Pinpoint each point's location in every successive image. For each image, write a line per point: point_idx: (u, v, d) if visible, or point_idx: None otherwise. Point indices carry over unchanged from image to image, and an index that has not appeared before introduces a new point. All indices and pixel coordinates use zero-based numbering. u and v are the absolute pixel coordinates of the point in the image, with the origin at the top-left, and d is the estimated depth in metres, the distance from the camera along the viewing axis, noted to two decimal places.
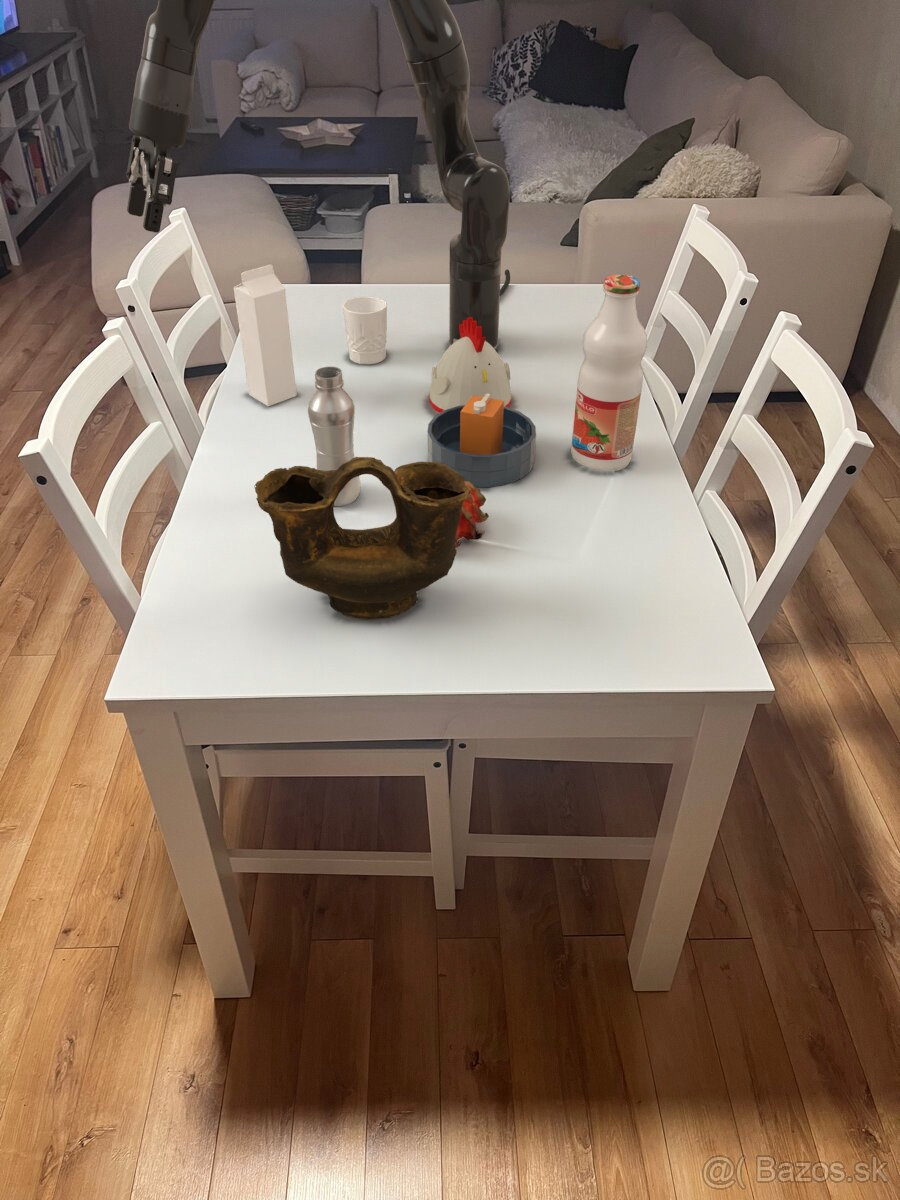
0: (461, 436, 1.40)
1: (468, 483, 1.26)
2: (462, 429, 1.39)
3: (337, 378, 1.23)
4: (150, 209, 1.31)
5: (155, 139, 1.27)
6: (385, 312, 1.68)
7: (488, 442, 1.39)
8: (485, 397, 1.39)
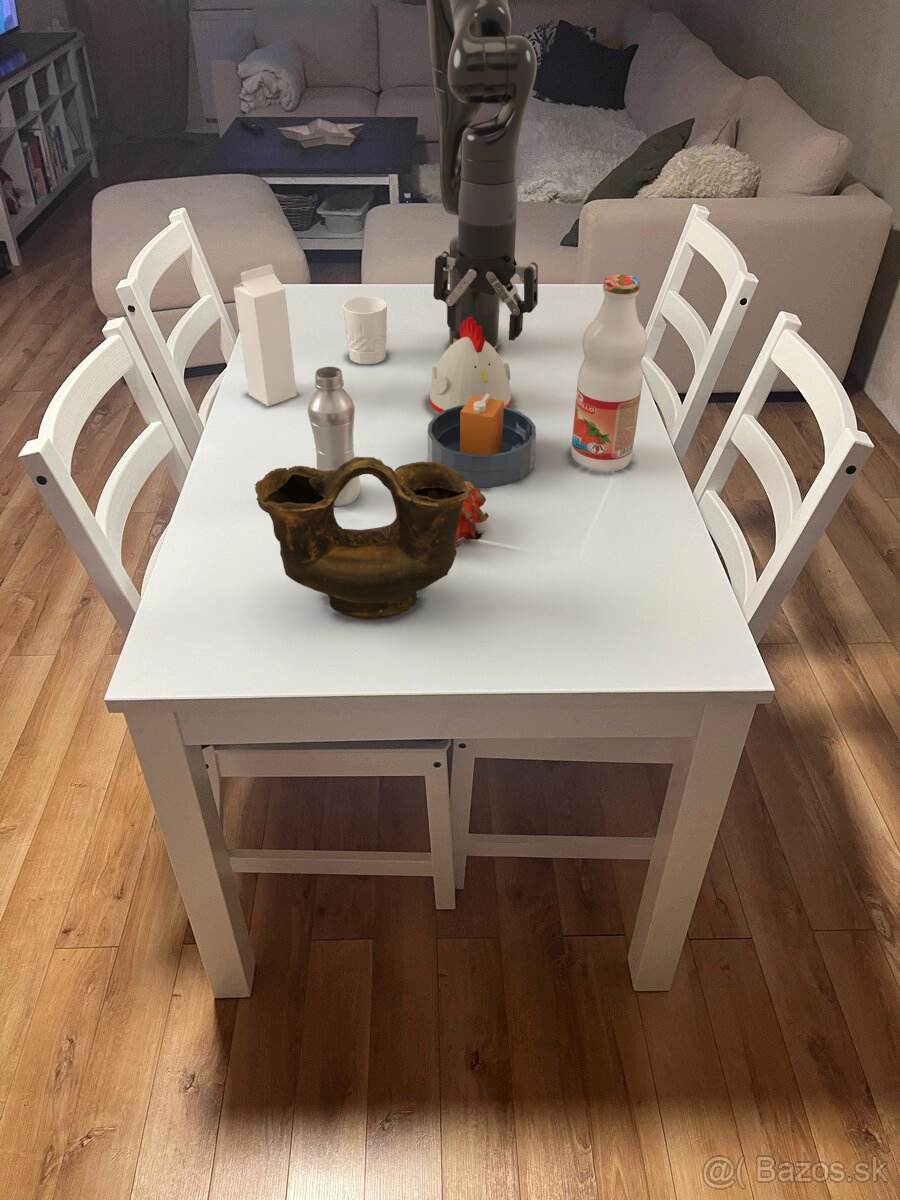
0: (461, 436, 1.40)
1: (468, 483, 1.26)
2: (462, 429, 1.39)
3: (337, 378, 1.23)
4: (517, 320, 1.28)
5: (509, 255, 1.22)
6: (385, 312, 1.68)
7: (488, 442, 1.39)
8: (485, 397, 1.39)
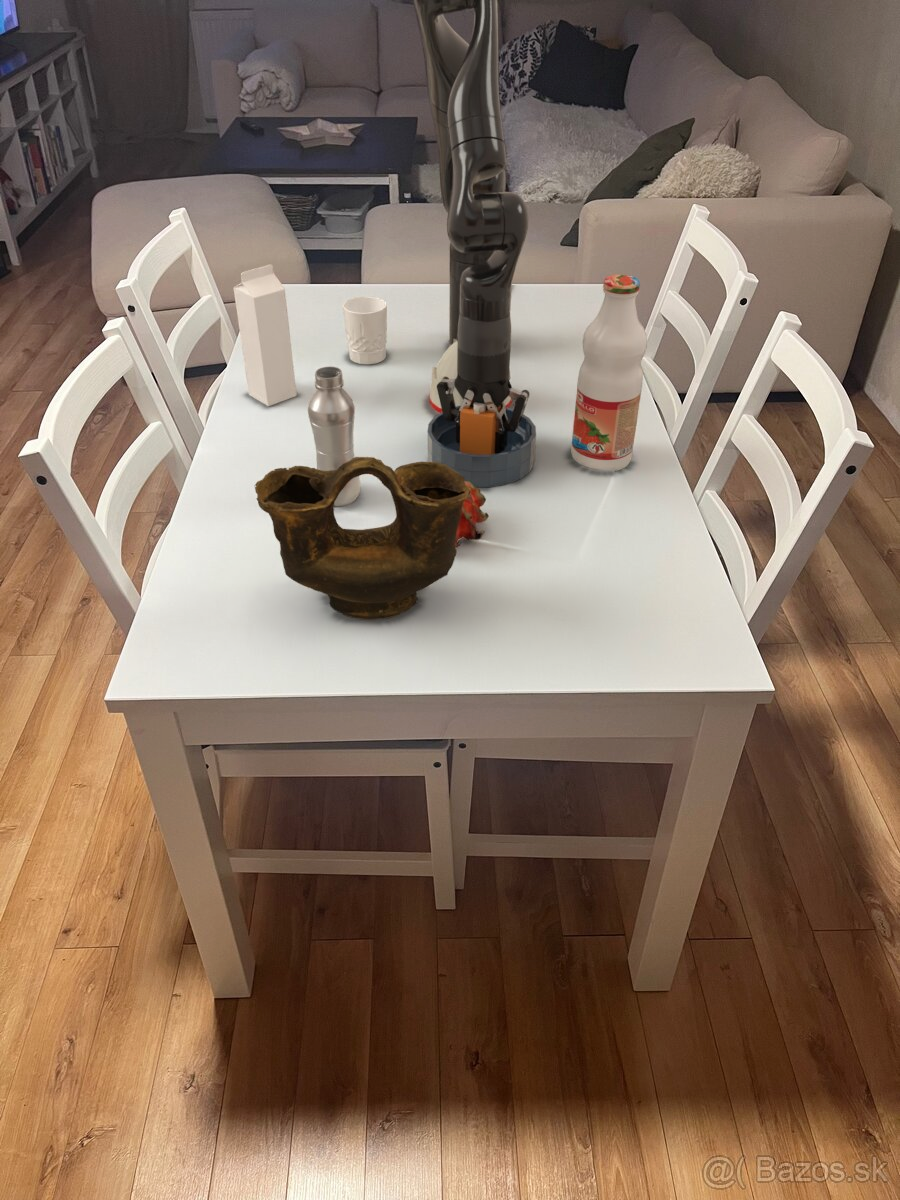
0: (461, 436, 1.40)
1: (468, 483, 1.26)
2: (462, 429, 1.39)
3: (337, 378, 1.23)
4: (501, 437, 1.40)
5: (504, 379, 1.33)
6: (385, 312, 1.68)
7: (488, 442, 1.39)
8: None
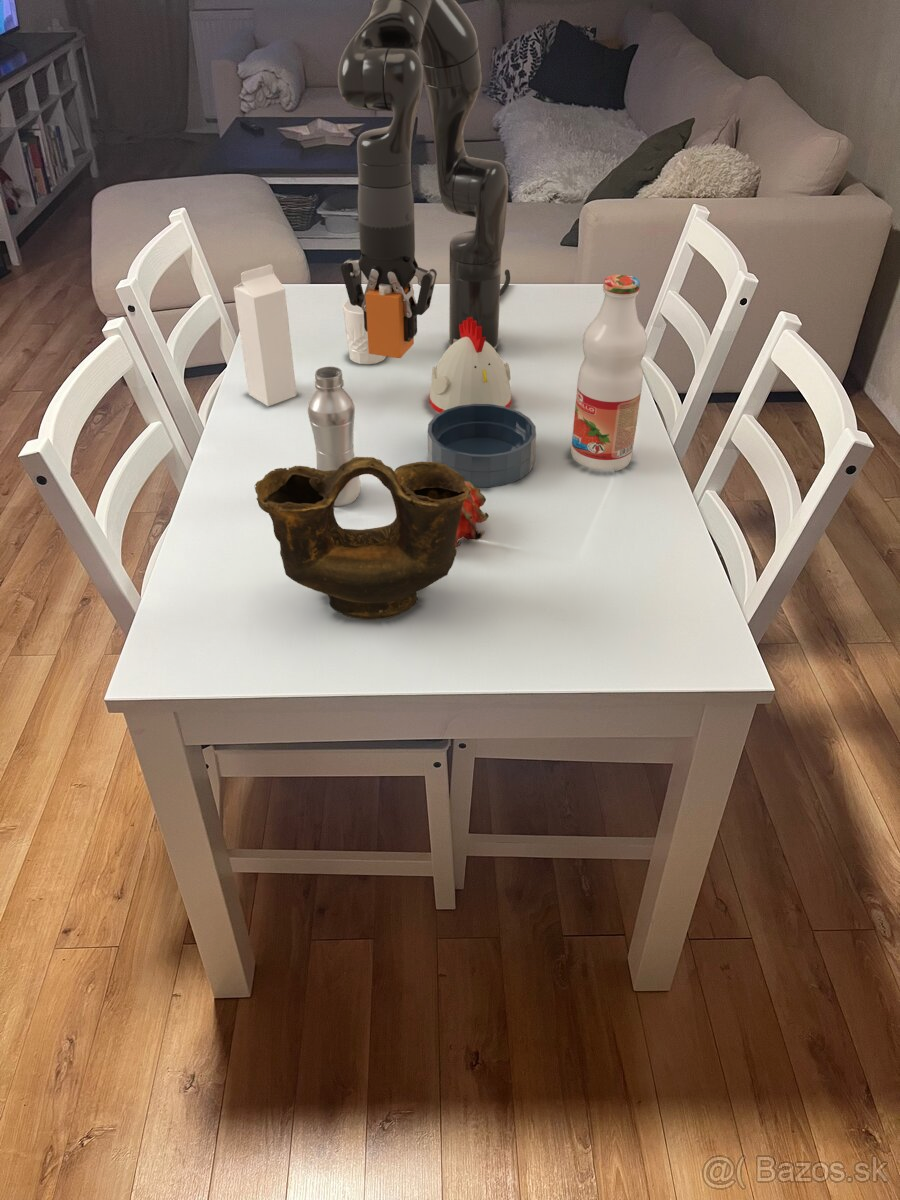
0: (368, 321, 1.33)
1: (468, 483, 1.26)
2: (368, 313, 1.33)
3: (337, 378, 1.23)
4: (410, 322, 1.34)
5: (408, 255, 1.27)
6: None
7: (395, 326, 1.32)
8: None
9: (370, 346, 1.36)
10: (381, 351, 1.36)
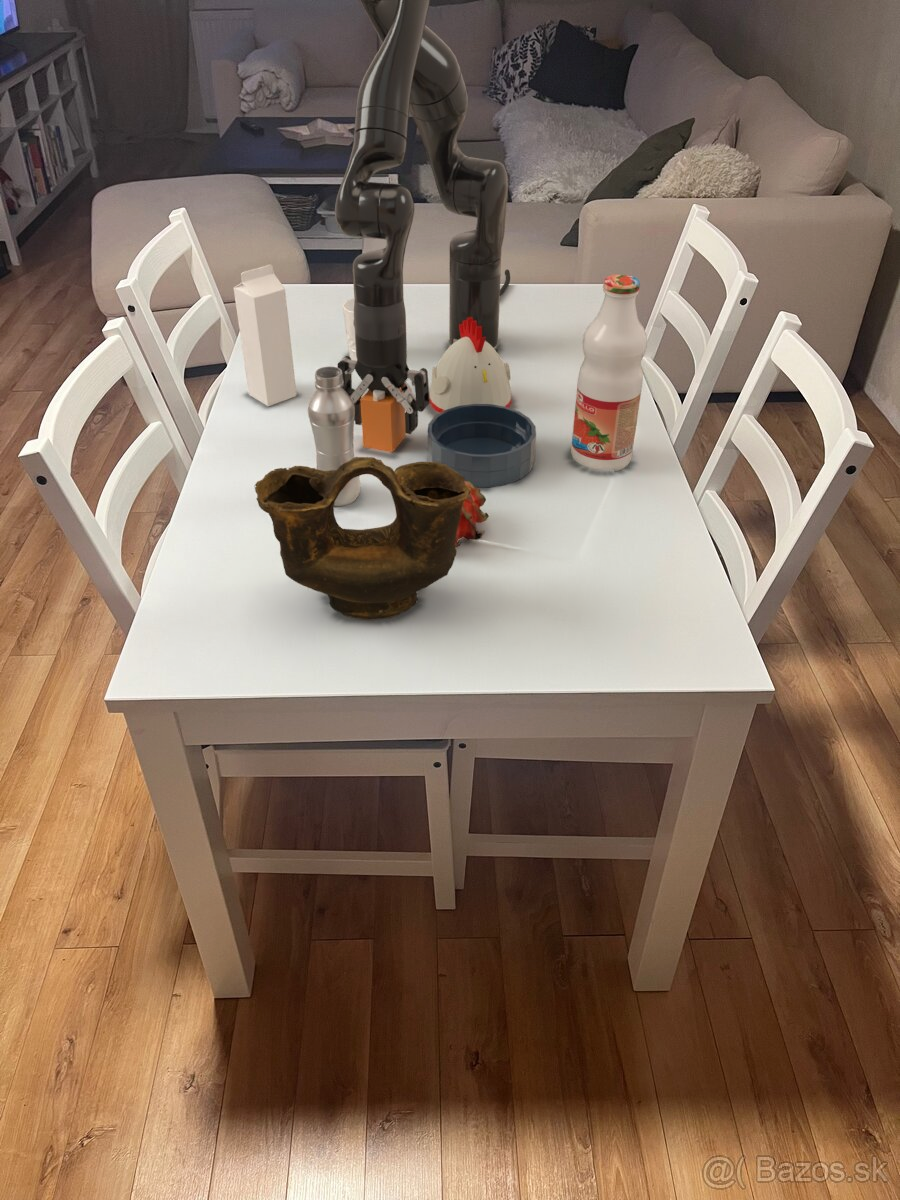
0: (363, 423, 1.44)
1: (468, 483, 1.26)
2: (363, 416, 1.43)
3: (337, 378, 1.23)
4: (411, 417, 1.43)
5: (400, 363, 1.38)
6: None
7: (388, 429, 1.43)
8: None
9: (365, 444, 1.46)
10: None
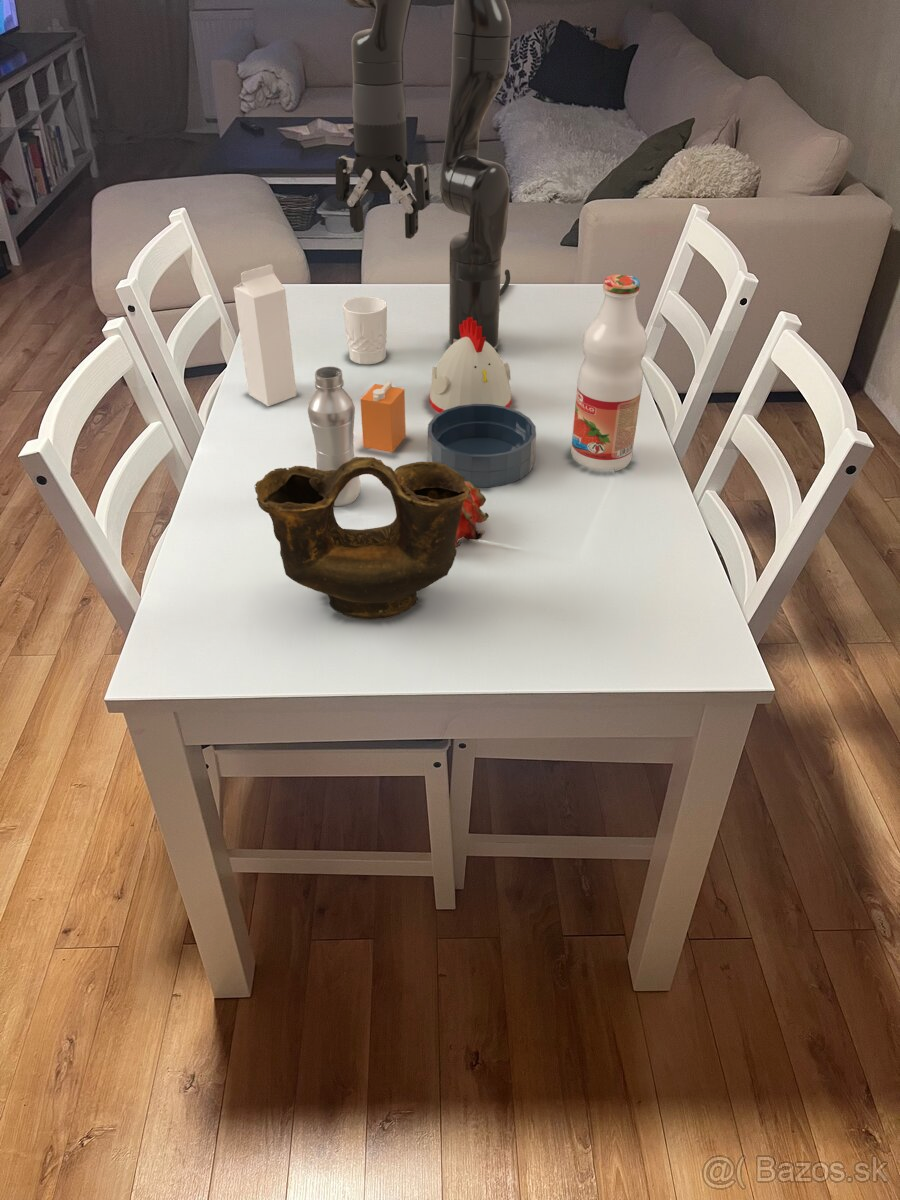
0: (363, 423, 1.44)
1: (468, 483, 1.26)
2: (363, 416, 1.43)
3: (337, 378, 1.23)
4: (411, 218, 1.39)
5: (400, 154, 1.33)
6: (385, 312, 1.68)
7: (388, 429, 1.43)
8: (385, 385, 1.44)
9: (365, 444, 1.46)
10: None
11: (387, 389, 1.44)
